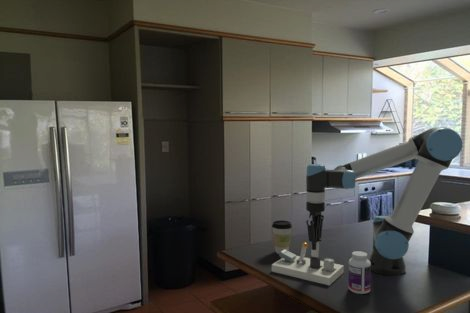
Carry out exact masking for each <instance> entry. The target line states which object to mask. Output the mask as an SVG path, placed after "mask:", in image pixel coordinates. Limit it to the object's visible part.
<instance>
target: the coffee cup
mask: <svg viewBox="0 0 470 313" xmlns="http://www.w3.org/2000/svg"><path fill="white" fill-rule="evenodd" d="M292 227H293V225H292V223H291V222H290V221H288V220H284V219H283V220H274V221H273V222H272V225H271V228H272V231H273V232H272V235H273V241H274V250H275V254H277V255H279V254H280V252H281V251H283V250H284V249H285V250H287V251H289V252H290V250H289V248H290V244H291V236H292V235H291V234H292V233H291V230H292Z"/></svg>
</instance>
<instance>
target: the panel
mask: <svg viewBox="0 0 470 313" xmlns="http://www.w3.org/2000/svg"><path fill="white" fill-rule="evenodd" d="M299 258H300V255H296V259H295V260H293V261H292V262H289V261H288V260H286V259H284V258H282V257H281V258H280V259H279V260H277V261H275V262H273V263H272V264H271V272H273V273H277V274H279V275H280V274H281V275H285V276H289V277H294V278H298V279H301V280H305V281H309V282H313V283H317V284H322V285H326V286H331V285H332V284H333V283H334V282H335V281H336V280H337V279H338V278H340V276H341V275H343V274H344V271H345V267H344V265H343V264H338V263H334V271H332V272H328V271H324V260H320V268H318V269H314V268H311V267H310V257H305V258H304V260H303V261H302V262H299Z"/></svg>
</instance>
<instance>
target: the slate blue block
mask: <svg viewBox="0 0 470 313" xmlns="http://www.w3.org/2000/svg"><path fill="white" fill-rule="evenodd" d="M278 255H279V256H278V257H280V258H281V259H282V258H284V259H286V260H288V261H289V262H292V261H293V260H295V259H296V256H297V255H296V254H295V253H292V252H291V251H290V250H289V251H287V250H285V249H284V250H283V251H281V252H280V254H278Z"/></svg>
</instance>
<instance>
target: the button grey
mask: <svg viewBox="0 0 470 313" xmlns="http://www.w3.org/2000/svg"><path fill="white" fill-rule="evenodd" d="M323 261H324V271H328V272H332V271H334V264H335V259H333V258H323Z"/></svg>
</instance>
